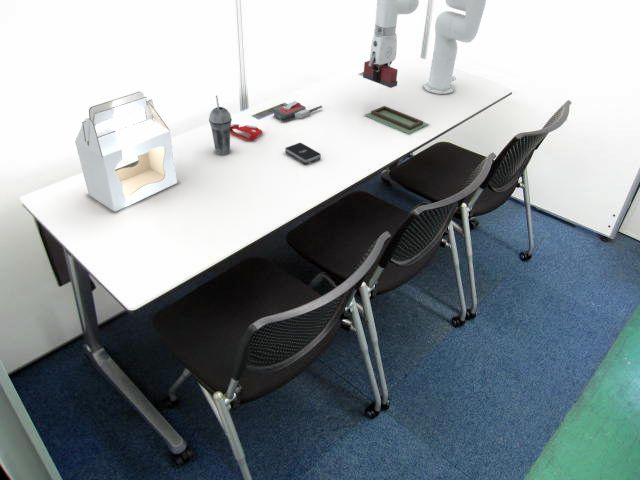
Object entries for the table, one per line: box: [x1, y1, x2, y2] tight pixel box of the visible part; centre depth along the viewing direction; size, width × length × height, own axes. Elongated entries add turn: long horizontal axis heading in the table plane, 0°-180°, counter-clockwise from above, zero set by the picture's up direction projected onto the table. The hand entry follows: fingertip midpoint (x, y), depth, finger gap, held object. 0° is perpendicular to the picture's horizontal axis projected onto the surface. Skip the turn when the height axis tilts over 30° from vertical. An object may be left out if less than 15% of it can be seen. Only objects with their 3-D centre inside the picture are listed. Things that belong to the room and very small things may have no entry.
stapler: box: [362, 60, 398, 89], centre depth 204 cm, size 14×4×6 cm, turn 44°
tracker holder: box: [230, 123, 263, 141], centre depth 191 cm, size 12×4×10 cm
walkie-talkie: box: [273, 100, 323, 122], centre depth 207 cm, size 9×4×20 cm
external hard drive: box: [284, 142, 322, 165], centre depth 181 cm, size 7×11×2 cm, turn 42°
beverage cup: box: [208, 95, 233, 156], centre depth 176 cm, size 7×7×20 cm
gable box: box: [74, 91, 178, 213], centre depth 153 cm, size 22×13×28 cm, turn 140°
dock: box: [365, 105, 429, 135], centre depth 207 cm, size 12×21×2 cm, turn 45°
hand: (379, 79), depth 205 cm, fingers closed on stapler, 3 cm apart
